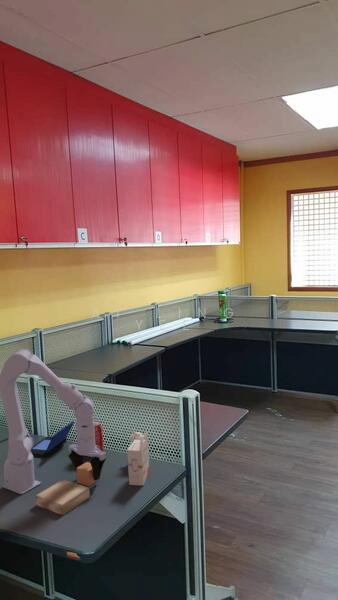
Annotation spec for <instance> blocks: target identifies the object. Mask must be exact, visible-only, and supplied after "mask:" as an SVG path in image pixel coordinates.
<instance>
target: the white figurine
mask: <svg viewBox="0 0 338 600" xmlns="http://www.w3.org/2000/svg"><path fill="white" fill-rule="evenodd" d="M130 431H131V432H132V433H133V434H131V435H130V436H129V442H130V443H131V442H133V441H134V440H141V439H142V437H143V436H144V434H142V433H141V432H140V431H137V432H136V430H135V429H133V428H130Z"/></svg>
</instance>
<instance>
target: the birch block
mask: <svg viewBox="0 0 338 600" xmlns="http://www.w3.org/2000/svg"><path fill="white" fill-rule="evenodd" d="M90 497H91V496H90V487H89V486H86V485H83V484H80V483H76V482H73V481H69V480H67V479H61V480H59V481H58V482H55V483H54V484H53V485H51V486H49V487H48V488H46V489H44V490H42V491H40V492H38V493H37V494H35V501H36V503H35V504H36V506H38V507H40V508H42V509H43V508H44V509H45V510H49V511H51V512H54V513H56V514H59V515H61V516H64V515H66V514H67V513H68V512H71V511H72V510H73V509H74V508H76V507H77V506H79V505H81V504H82V503H84V502H85V501H87V500H88V499H90Z"/></svg>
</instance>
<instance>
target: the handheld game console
mask: <svg viewBox="0 0 338 600" xmlns="http://www.w3.org/2000/svg"><path fill="white" fill-rule="evenodd" d="M74 424H75V421H74V420H73V421H71V422H70V423H68V424H67V425H65V426H64V427H63V428H61V429H59V431H57V432H56V433H55V434H54V435H53V436H46V437H44V438H43V439H41V440H40V441H38V442H37V443H35V444H33V448H32V449H31V453H32V455H33V457H36V458H47V457H49V456H50V455H51V454H53V452H54V451H55V450H56V449H58V448H60V447H61V446H62V445H63V443H64V444H65V443H67V438H68V435H69V433H70V432H71V430H72V427H73V426H74Z"/></svg>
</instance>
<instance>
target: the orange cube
mask: <svg viewBox="0 0 338 600" xmlns="http://www.w3.org/2000/svg"><path fill="white" fill-rule="evenodd" d="M99 480H100V478H99V479H98V480H96V481H95V480H94V478H93V470H92V466H91V464H90V461H86V462H83V465H81V466H79V467H77V474H76V481H77V483H76V484H79V485H82V486H85V487H90V486H92V485H93V484H94V483H96V482H98V481H99Z"/></svg>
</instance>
